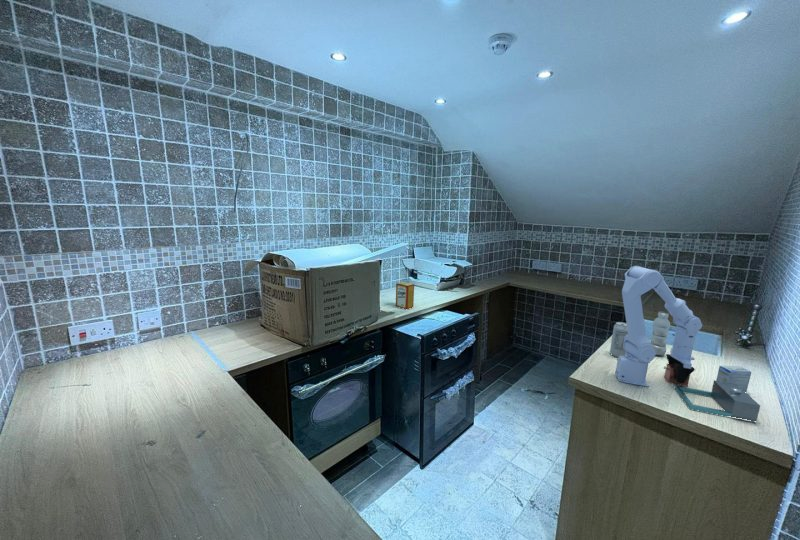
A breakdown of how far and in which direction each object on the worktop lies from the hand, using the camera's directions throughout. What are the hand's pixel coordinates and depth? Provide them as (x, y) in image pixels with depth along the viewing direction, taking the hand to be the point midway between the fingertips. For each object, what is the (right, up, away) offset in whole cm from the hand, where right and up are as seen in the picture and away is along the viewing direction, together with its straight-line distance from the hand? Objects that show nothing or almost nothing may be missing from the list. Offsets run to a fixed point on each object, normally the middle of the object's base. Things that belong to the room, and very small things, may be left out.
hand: (676, 377), depth 127 cm
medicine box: (+16, -3, -4) cm, 17 cm away
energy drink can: (-8, +3, +23) cm, 24 cm away
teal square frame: (0, -4, -15) cm, 15 cm away
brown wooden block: (0, -2, 0) cm, 2 cm away
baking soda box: (-104, +17, +87) cm, 136 cm away
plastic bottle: (+12, +2, +25) cm, 28 cm away
